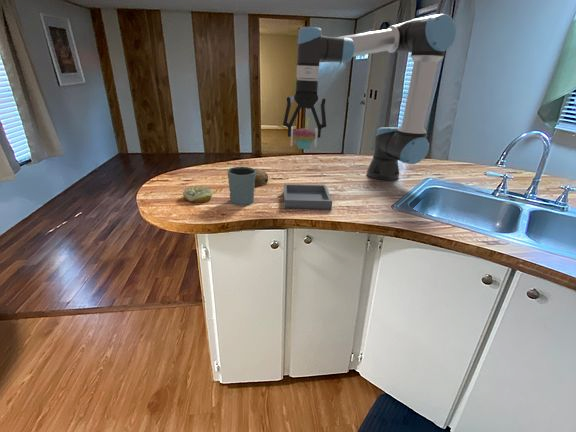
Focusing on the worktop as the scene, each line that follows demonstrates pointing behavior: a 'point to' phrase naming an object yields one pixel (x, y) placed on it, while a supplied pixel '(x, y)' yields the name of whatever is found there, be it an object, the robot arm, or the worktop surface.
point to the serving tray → (307, 197)
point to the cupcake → (304, 137)
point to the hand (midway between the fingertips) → (303, 145)
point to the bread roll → (261, 177)
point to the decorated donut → (197, 194)
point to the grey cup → (241, 185)
